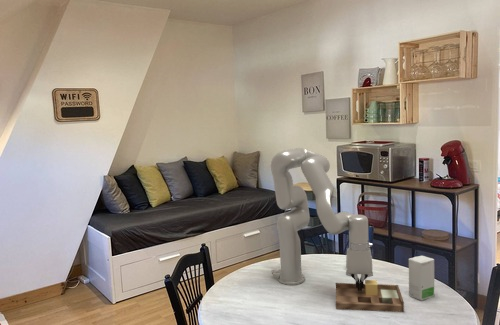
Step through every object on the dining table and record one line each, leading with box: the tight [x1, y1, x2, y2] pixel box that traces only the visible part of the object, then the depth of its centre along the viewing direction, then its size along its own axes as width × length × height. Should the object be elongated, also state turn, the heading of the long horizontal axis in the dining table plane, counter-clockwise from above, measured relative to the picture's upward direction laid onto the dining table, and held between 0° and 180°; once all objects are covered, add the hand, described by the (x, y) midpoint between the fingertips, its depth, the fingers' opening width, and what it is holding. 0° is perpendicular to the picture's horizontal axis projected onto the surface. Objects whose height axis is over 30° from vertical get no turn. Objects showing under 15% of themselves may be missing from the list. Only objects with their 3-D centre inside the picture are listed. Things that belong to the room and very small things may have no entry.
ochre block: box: [364, 279, 378, 296], centre depth 170 cm, size 4×4×4 cm
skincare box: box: [408, 255, 435, 301], centre depth 170 cm, size 8×7×16 cm
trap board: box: [335, 282, 405, 313], centre depth 168 cm, size 25×15×4 cm, turn 78°
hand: (359, 289), depth 171 cm, fingers closed
